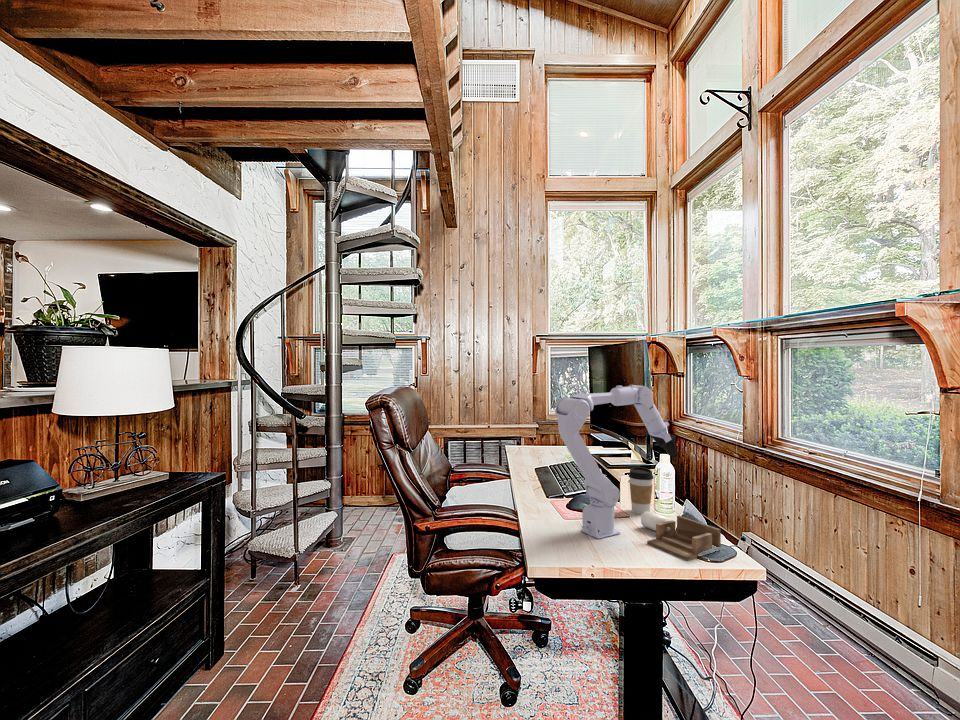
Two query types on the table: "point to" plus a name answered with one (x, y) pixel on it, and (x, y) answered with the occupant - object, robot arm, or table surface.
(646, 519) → the roll
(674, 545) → the holder
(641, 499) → the coffee cup
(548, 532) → the table surface
